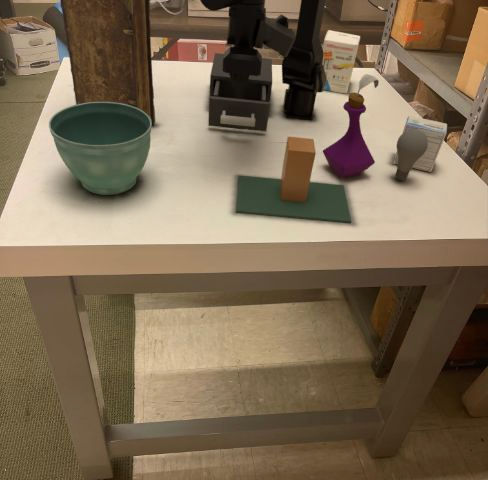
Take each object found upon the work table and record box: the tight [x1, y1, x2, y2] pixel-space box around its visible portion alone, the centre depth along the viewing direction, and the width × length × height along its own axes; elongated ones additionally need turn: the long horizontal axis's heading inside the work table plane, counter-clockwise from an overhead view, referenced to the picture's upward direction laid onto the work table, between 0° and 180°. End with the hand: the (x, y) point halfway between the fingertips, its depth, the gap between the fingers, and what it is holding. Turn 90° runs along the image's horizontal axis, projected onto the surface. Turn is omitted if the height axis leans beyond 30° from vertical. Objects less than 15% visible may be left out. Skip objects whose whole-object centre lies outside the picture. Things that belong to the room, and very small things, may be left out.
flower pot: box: [48, 102, 153, 196], centre depth 84 cm, size 16×16×11 cm
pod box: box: [280, 136, 317, 203], centre depth 86 cm, size 4×5×10 cm
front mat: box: [235, 174, 352, 224], centre depth 89 cm, size 20×12×1 cm, turn 88°
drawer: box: [207, 80, 271, 133], centre depth 106 cm, size 18×12×6 cm
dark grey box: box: [209, 52, 273, 104], centre depth 115 cm, size 15×14×8 cm
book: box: [59, 0, 156, 126], centre depth 96 cm, size 17×7×25 cm, turn 62°
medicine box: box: [393, 115, 448, 173], centre depth 100 cm, size 8×4×9 cm, turn 71°
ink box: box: [322, 29, 361, 94], centre depth 126 cm, size 9×8×12 cm
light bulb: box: [394, 129, 428, 181], centre depth 94 cm, size 6×6×10 cm
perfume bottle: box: [322, 73, 380, 179], centre depth 91 cm, size 8×8×18 cm
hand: (239, 98), depth 91 cm, fingers closed
